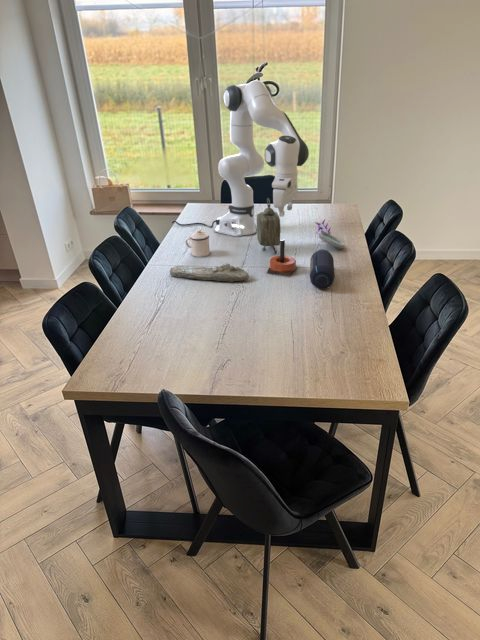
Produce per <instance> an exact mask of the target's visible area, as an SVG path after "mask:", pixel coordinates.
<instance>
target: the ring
mask: <svg viewBox="0 0 480 640" xmlns="http://www.w3.org/2000/svg"><path fill="white" fill-rule="evenodd" d="M269 268H271V269H272V270H274V271H278V272H288V271H291V270H294V269H295V268H296V269H297V260H296V258H295V257H293V256H290V255H285V260H284V263H280V255H275V256H271V257H270V258H269ZM296 269H295V270H296ZM295 270H294V271H295Z"/></svg>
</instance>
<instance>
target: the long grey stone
mask: <svg viewBox="0 0 480 640" xmlns="http://www.w3.org/2000/svg"><path fill="white" fill-rule="evenodd" d="M169 275H170V276H171V277H178V278H184V279H191V280H192V279H195V280H197V281H199V280H201V281H216V282H228V283H229V282H231V283H233V282H240V281H247V280H248V279H249V276H250V274H249V272H248V271H246V270H245V269H242V268H241V267H238V266H234V265H231V264H230V263H228V262H227V263H224V264H222V265H219V266H218V265H216V266H212V267H207V266H206V267H205V266H189V265H175V266H173V267H170V269H169Z"/></svg>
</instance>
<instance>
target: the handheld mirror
mask: <svg viewBox="0 0 480 640" xmlns="http://www.w3.org/2000/svg"><path fill="white" fill-rule="evenodd" d="M325 222H326V219H324V220H323V221H322V222H319V223H318V222H315V224H316V225H317V226H316V227H318V230H317V233H318V237H319V239H320V240H321V241H322V242H324V243H326V244H327V245H329V246H331V247H333V248H334V249H337V250H341V249H344V243H343V242H342V241H341V240H339V238H338V237H335V236H334V235H332V234H331V228H332V226H330V227H329V228H328V225H329V222H327V223H326V224H325Z"/></svg>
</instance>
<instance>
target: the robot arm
mask: <svg viewBox="0 0 480 640" xmlns="http://www.w3.org/2000/svg"><path fill="white" fill-rule="evenodd" d="M223 101H224V106H225V108H226V109H227V110H228V111H230V115H229V139H230V142H231V143H232V144H233V145H234V147H236V148H237V149H238V154H232V155H228V156H226V157H223V158H221V159H220V160H219V161H218V165H217V168H218V169H217V170H218V173H219V176H220V177H221V178H222V179H224V180H225V181H226V182H227V184H228V186H229V189H230V193H231V194H230V195H231V204H229V205H228V207H227V210H229V211H228V212H227V213H225V214H224V215H223V216H219V217H217V218H216V219H215V220H213V221H212V223H211V225H210V226H209V225H207V224H206V223H203V222H192V223H185V224H183V223H180V222H178V221H176V220H173V221H171V224H174V223H176V224H177V225H179V226H181V227H185V226H186V227H187V226H192V225H202V226H204V227H209V228H213V227H214V224H215V225H216V227H215V228H214V232H215V233H220V234H223V235H229V236H232V237H241V236H250V235H253V234H255V233H257V225H256V222H255V221H256V220H255V204H254V190H253V188H252V187H251V186H250V185H249V184H247V183H246V181H245V178H246V177H252V176H256V175H258V174H259V173H261V172H262V171H263V170H264V168H265V164H267V165H268V166H269V167H272V168H276V170H275V176H274V179H273V181H272V183H271V188H273V190H272V204H273V208H276V209H278V212H279V213H278V215H279V217H280V218H281V217H284V216H285V210H284V209H285V207H286V206H287V207H286V210H287V211H292V210H293V204H294V199H295V198H297V197H298V195H299V193H298V191H299V188H298V187H299V185H298V184H299V183H298V167H302V166H303V165H304V164H306V162H307V160H308V159H309V155H310V153H309V152H310V150H309V147H308V145H307V144H306V142H305V140H303V138H301V136H300V134H299V133H298V131H297V130H296V128H295V126H294V124H293V123H292V121H291V119H290V117H289V116H288V114H286V112H284V111H283V110H281V109H280V108H279V107H278V106H277V105H276V104H275V102H274V100H273V94H272V89H271V88H270V86H269V85H267V84H265V83H264V82H263V81H262V80H259V79H255V80H254V79H253V80H252V81H251V80H250V81H249V82H248V83H244V84H241V83H240V84H231V85H228V86H227V87H226V88H225V89H224V93H223ZM254 123H255V124H256V125H258V126H259V127H264V128H269V129H273V130H276V131H279V132H280V133H281V134H282V135H280V136H278V138H277V140H276V141H274V142H270V143H268V145H266V147H265V148H264V158H263V156H262V154H260V153H259V152H258V151H257V148H256V146H255V141H254Z"/></svg>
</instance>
